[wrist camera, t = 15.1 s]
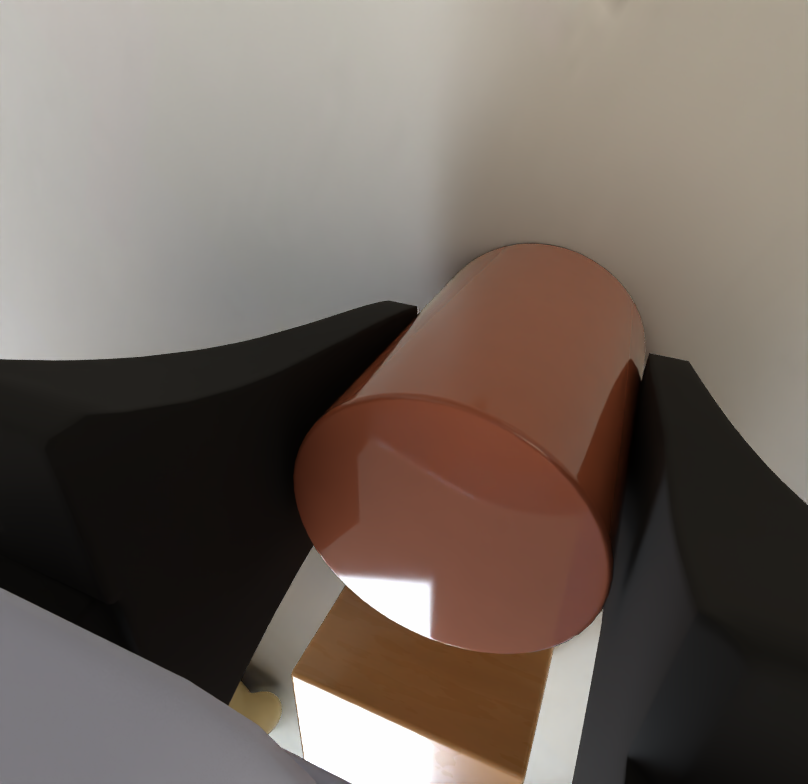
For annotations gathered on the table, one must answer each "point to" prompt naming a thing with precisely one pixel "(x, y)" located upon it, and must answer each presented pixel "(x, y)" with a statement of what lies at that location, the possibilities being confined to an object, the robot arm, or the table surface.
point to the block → (413, 703)
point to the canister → (485, 456)
